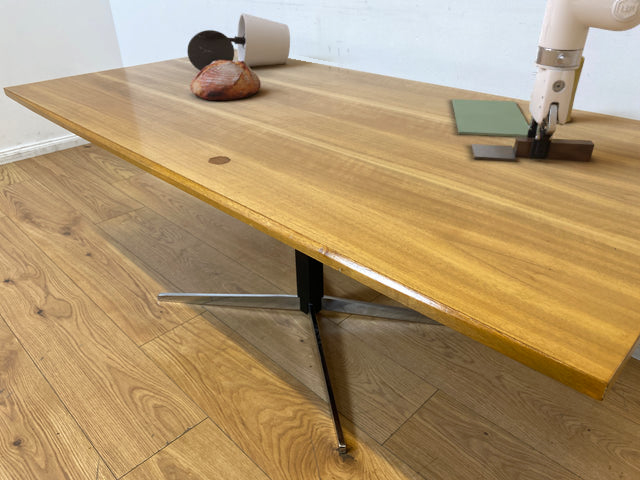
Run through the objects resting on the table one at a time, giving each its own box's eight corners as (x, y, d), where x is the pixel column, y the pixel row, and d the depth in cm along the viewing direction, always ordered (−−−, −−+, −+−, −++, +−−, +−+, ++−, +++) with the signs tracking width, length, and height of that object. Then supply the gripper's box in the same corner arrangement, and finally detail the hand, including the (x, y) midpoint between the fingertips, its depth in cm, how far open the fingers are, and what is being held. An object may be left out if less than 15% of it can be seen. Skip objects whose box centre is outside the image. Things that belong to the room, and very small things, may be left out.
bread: (266, 101, 135) (264, 64, 129) (194, 108, 130) (189, 70, 124) (254, 83, 148) (252, 49, 142) (188, 89, 142) (183, 53, 137)
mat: (514, 103, 127) (514, 101, 127) (534, 137, 106) (534, 135, 105) (452, 101, 130) (452, 99, 129) (458, 134, 108) (459, 131, 108)
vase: (573, 118, 116) (590, 56, 109) (565, 124, 112) (582, 60, 105) (547, 113, 120) (562, 52, 112) (538, 119, 116) (553, 57, 108)
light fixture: (183, 46, 170) (277, 54, 180) (187, 75, 158) (287, 81, 169) (183, -3, 157) (284, 9, 168) (187, 25, 146) (295, 35, 157)
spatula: (582, 152, 98) (587, 136, 96) (593, 166, 92) (598, 149, 90) (471, 146, 101) (473, 131, 100) (474, 159, 95) (476, 143, 94)
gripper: (594, 68, 79) (565, 171, 89) (568, 48, 93) (545, 139, 103) (546, 67, 80) (523, 169, 90) (527, 48, 94) (508, 138, 104)
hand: (535, 152), depth 96 cm, fingers open, 4 cm apart
